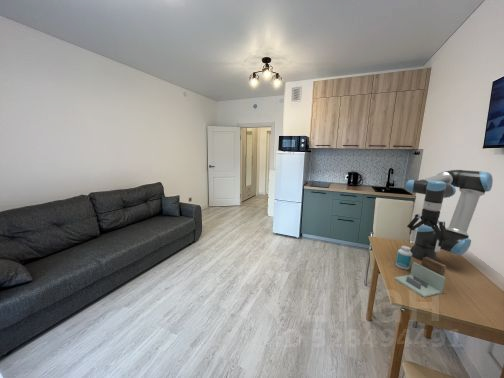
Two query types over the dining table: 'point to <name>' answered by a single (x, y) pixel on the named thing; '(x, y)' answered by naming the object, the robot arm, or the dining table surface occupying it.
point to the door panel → (433, 266)
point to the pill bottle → (404, 258)
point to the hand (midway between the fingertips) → (423, 245)
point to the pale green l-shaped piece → (423, 281)
